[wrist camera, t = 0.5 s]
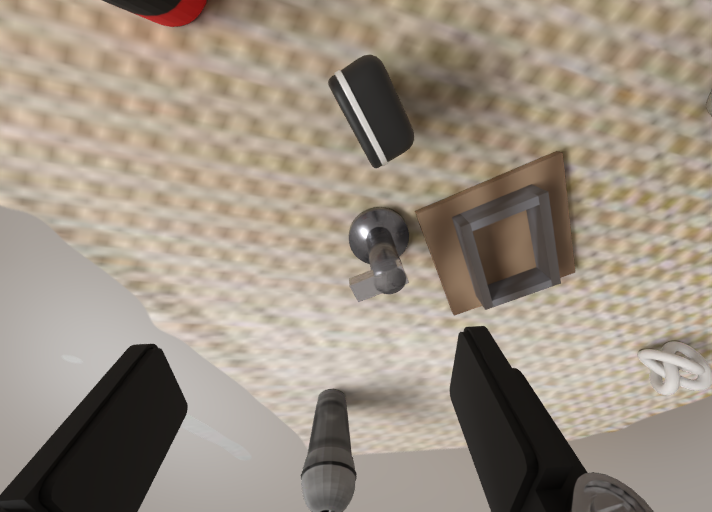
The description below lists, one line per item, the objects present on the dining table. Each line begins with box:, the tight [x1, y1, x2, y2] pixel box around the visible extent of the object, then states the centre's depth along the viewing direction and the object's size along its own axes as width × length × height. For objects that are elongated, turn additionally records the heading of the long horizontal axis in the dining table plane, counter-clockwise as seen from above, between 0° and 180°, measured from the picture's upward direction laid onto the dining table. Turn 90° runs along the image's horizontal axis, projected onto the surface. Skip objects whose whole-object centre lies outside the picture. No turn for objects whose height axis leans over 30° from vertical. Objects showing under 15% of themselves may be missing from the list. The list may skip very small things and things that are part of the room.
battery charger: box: [328, 55, 414, 168], centre depth 24 cm, size 7×4×11 cm, turn 30°
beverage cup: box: [301, 389, 356, 512], centre depth 40 cm, size 7×7×20 cm
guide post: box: [349, 207, 409, 302], centre depth 31 cm, size 7×7×10 cm
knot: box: [638, 341, 712, 395], centre depth 44 cm, size 8×8×6 cm
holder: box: [415, 151, 575, 315], centre depth 35 cm, size 16×16×4 cm
